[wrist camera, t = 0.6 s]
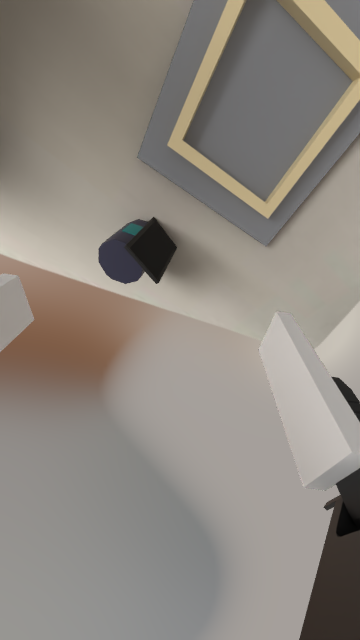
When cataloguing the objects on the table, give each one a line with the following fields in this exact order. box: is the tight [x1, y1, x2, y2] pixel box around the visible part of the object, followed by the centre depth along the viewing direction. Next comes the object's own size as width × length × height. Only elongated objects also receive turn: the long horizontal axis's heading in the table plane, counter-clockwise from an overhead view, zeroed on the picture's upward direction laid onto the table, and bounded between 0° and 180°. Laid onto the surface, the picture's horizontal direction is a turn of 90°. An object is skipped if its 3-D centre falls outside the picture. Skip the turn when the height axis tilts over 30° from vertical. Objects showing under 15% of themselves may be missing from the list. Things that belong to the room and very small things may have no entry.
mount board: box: [137, 0, 360, 246], centre depth 22 cm, size 20×20×2 cm
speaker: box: [99, 217, 177, 284], centre depth 28 cm, size 8×6×10 cm
